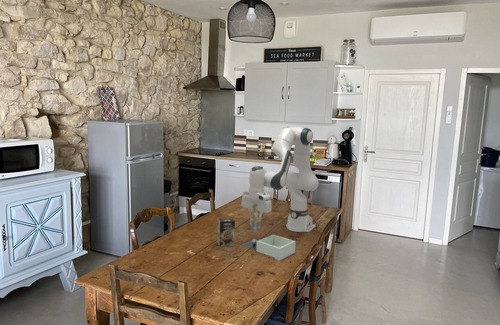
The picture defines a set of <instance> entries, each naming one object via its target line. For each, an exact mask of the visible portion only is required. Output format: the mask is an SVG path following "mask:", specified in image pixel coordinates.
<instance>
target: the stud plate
mask: <svg viewBox="0 0 500 325" xmlns="http://www.w3.org/2000/svg"><path fill="white" fill-rule="evenodd" d="M257 241H258V240H257V239H256V238H253V239H252V240H249V241H245V242H244V243H242V244H240V246H242V247H246V248H248V249H250V250H251V249H252V250H253V251H256V246H257Z"/></svg>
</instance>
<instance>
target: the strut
mask: <svg viewBox="0 0 500 325" xmlns="http://www.w3.org/2000/svg"><path fill="white" fill-rule="evenodd" d="M259 214H260V213H259V211H257V204H254V203H251V216H250V215H249V216H250V218H249V219H250V221H249V230H251V231H253V232H254V231H256V232H257V231H258V230H259V231H260V230H261V222H262V221H261V220H262V217H261V218H258V215H259Z"/></svg>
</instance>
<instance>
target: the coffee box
mask: <svg viewBox="0 0 500 325" xmlns="http://www.w3.org/2000/svg"><path fill="white" fill-rule="evenodd" d="M217 221H218V224H217V245H218V247H232V246H235V230H236V229H235V228H236V220H235V219H234V218H233V217H231V218H230V217H229V218H218V220H217Z"/></svg>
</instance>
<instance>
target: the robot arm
mask: <svg viewBox="0 0 500 325" xmlns="http://www.w3.org/2000/svg"><path fill="white" fill-rule="evenodd" d="M313 136H314V134H313V132H312V129H310V128H308V127H302V126H285V127H283V128H282V129H281V131H279V133H278V135H276V138H275V140H274V142H273V145H272V151H273V153H274V154H275V156H276V157H278V158H279V159H281V162H280V166H279V169H278V171H270V170H267V169H264V167H263V166H253V167H252V168H250V170H249V178H248V180H249V181H248V182H249V188H248V191H244V192H242V196H241V197H242V198H241V207H242V208H246V209H248V212H249V216H251V203H254V204H257V211H259V213H260V214H259V215H258V218H261V219H262V215H263V214H264V213H265V214H269V213H271V212H272V209H273V208H272V207H273V206H272V200H271V199H272V195H271V194H269V193H267V191H265V188H270V189H273V190H276V191H280V190H282V189H283V188H284V187H285V188H286V189H287V191H288V192H289V195H290V208H289V214H288V217H287V223H286V224H285V227H286V228H287V230H288V231H291V232H295V233H298V232H299V233H310V232H311V231H313V230H314V229H315V228H316V224H315V223H313V218H312V217H311V216H310V215H309V213H308V212H310V211H311V209H310V208H308V198H307V196H306V195H305V194H303V192H302V191H306V192H312V191H313V192H314V191H316V190H317V188H319V179H318V177H317V176H316V175H315V173H313V170H312V168H311V142H312V141H313V138H314V137H313ZM293 145H294V147H293ZM292 147H293V153H292V152H291V150H292ZM292 154H293V155H292ZM292 158H293V159H292ZM292 160H293V162H292ZM291 163H292V164H293V166H294V167H295V168H297V170H298V171H299V172H293V171H292V172H289V168H290V166H291Z"/></svg>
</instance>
